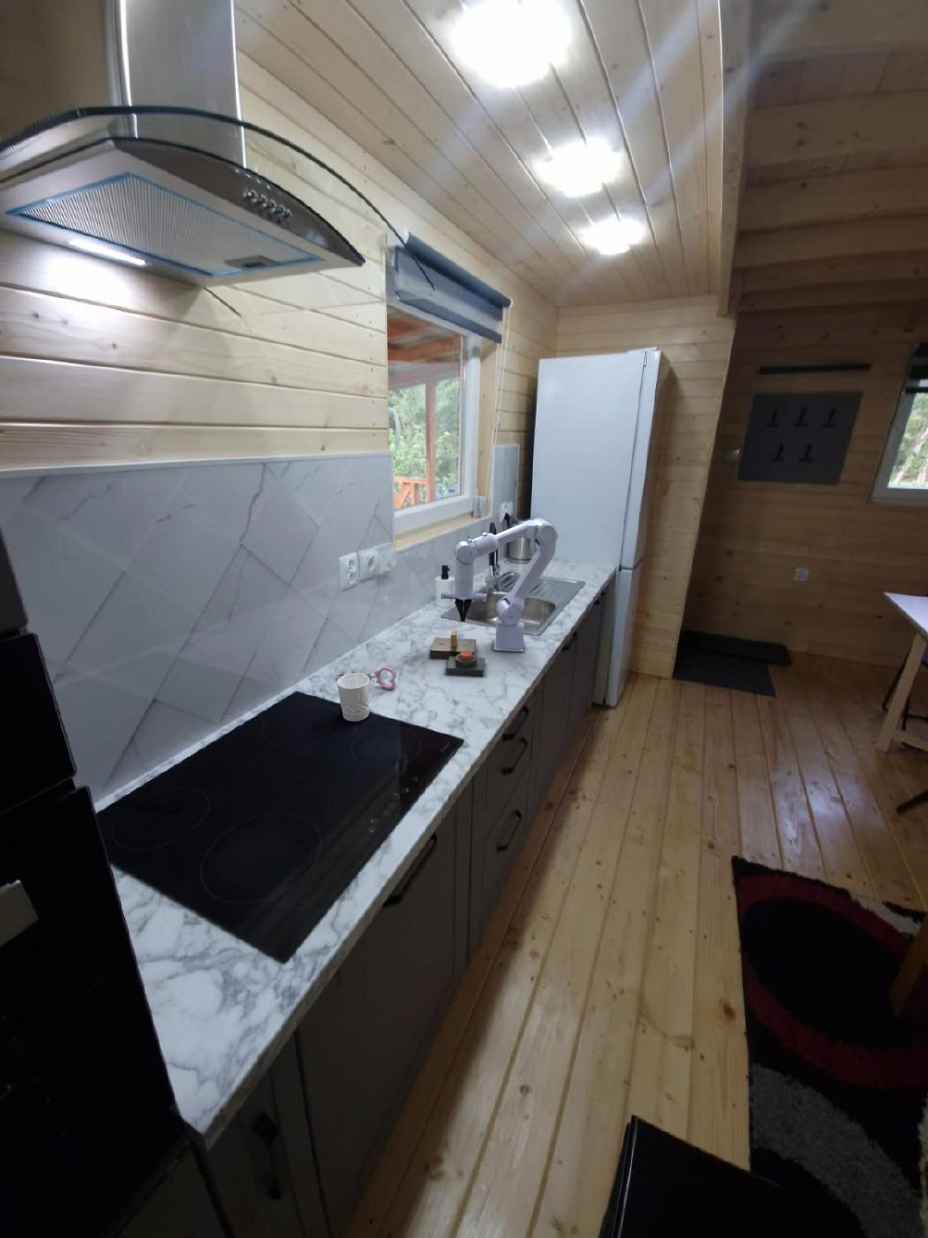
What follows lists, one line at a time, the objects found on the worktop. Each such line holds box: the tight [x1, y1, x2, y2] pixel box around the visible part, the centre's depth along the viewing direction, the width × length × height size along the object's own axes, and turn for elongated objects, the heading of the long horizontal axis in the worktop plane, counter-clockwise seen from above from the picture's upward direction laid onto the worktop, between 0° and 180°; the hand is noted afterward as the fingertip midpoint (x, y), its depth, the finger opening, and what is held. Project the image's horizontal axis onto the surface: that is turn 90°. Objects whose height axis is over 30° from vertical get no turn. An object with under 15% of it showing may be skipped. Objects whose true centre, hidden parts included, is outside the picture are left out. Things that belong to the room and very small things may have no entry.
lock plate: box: [429, 636, 477, 660], centre depth 161 cm, size 14×10×3 cm
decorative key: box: [335, 665, 397, 690], centre depth 142 cm, size 7×1×20 cm
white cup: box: [336, 672, 371, 722], centre depth 126 cm, size 8×8×10 cm
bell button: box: [460, 651, 472, 661], centre depth 150 cm, size 4×4×2 cm
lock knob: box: [450, 629, 458, 647], centre depth 160 cm, size 5×2×4 cm, turn 175°
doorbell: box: [446, 654, 486, 677], centre depth 151 cm, size 11×8×4 cm
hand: (462, 620), depth 161 cm, fingers closed
